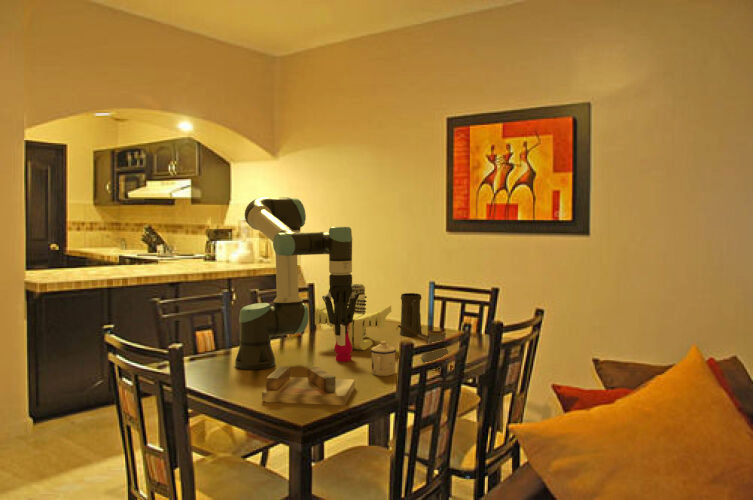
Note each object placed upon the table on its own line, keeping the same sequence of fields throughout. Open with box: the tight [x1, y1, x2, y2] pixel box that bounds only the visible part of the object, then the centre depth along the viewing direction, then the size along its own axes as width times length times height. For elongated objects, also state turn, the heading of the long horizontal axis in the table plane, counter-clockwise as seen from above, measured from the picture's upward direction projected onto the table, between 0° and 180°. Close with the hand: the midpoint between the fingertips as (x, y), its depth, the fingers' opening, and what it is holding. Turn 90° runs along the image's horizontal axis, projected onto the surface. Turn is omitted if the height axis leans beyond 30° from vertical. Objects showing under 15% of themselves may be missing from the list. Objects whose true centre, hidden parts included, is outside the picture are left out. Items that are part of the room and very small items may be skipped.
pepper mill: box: [334, 323, 353, 363], centre depth 237 cm, size 7×7×20 cm
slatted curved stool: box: [314, 303, 392, 351], centre depth 260 cm, size 30×16×18 cm, turn 74°
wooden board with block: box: [261, 366, 356, 406], centre depth 191 cm, size 26×18×7 cm
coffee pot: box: [396, 324, 450, 364], centre depth 230 cm, size 21×12×15 cm, turn 75°
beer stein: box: [399, 292, 423, 337], centre depth 285 cm, size 15×11×20 cm
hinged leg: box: [307, 366, 336, 393], centre depth 190 cm, size 16×4×4 cm, turn 27°
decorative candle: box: [348, 283, 368, 339], centre depth 281 cm, size 9×9×25 cm
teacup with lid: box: [370, 340, 397, 377], centre depth 216 cm, size 12×9×12 cm
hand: (341, 344), depth 196 cm, fingers closed
